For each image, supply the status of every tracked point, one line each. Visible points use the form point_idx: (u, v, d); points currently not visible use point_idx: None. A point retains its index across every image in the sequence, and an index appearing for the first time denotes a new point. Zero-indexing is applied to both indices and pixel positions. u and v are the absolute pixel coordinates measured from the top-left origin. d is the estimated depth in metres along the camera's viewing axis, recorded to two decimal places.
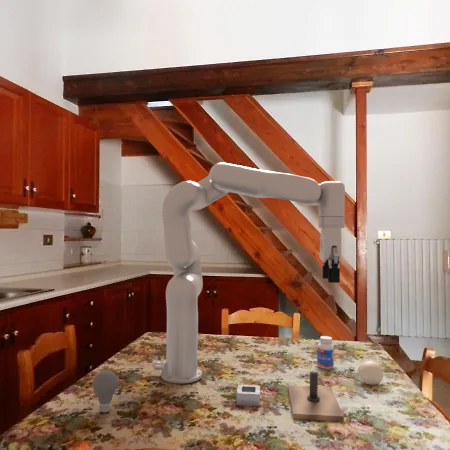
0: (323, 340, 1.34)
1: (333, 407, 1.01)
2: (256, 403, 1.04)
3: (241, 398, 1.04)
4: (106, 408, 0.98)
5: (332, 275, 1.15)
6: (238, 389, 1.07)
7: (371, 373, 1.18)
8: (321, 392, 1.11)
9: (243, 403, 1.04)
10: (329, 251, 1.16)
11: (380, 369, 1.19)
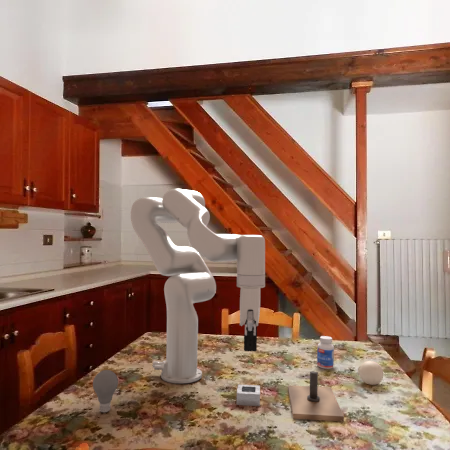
0: (323, 340, 1.34)
1: (333, 407, 1.01)
2: (256, 403, 1.04)
3: (241, 398, 1.04)
4: (106, 408, 0.98)
5: (248, 343, 1.02)
6: (238, 389, 1.07)
7: (371, 373, 1.18)
8: (321, 392, 1.11)
9: (243, 403, 1.04)
10: (245, 315, 1.02)
11: (380, 369, 1.19)
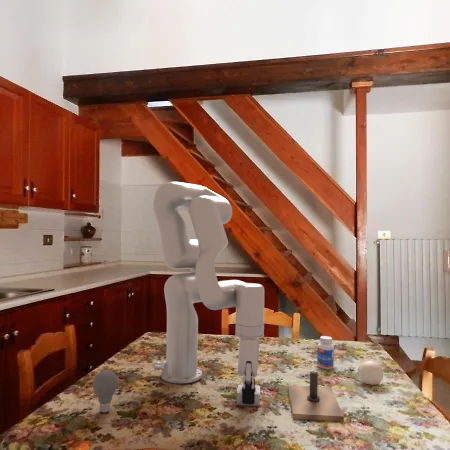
0: (323, 340, 1.34)
1: (333, 407, 1.01)
2: (256, 403, 1.04)
3: (241, 398, 1.04)
4: (106, 408, 0.98)
5: (246, 396, 1.03)
6: (238, 389, 1.07)
7: (371, 373, 1.18)
8: (321, 392, 1.11)
9: None
10: (243, 367, 1.02)
11: (380, 369, 1.19)
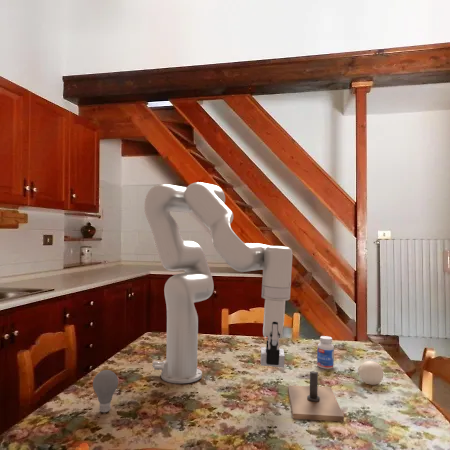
0: (323, 340, 1.34)
1: (333, 407, 1.01)
2: (280, 364, 1.04)
3: (265, 359, 1.05)
4: (106, 408, 0.98)
5: (270, 357, 1.03)
6: (262, 351, 1.07)
7: (371, 373, 1.18)
8: (321, 392, 1.11)
9: (267, 364, 1.04)
10: (269, 328, 1.02)
11: (380, 369, 1.19)
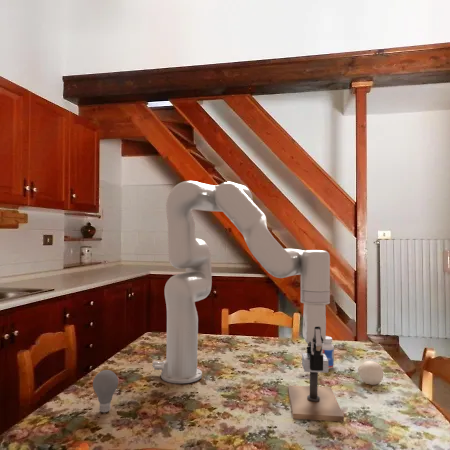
0: None
1: (333, 407, 1.01)
2: (324, 370, 1.03)
3: (309, 365, 1.03)
4: (106, 408, 0.98)
5: (314, 363, 1.02)
6: (304, 356, 1.06)
7: (371, 373, 1.18)
8: (321, 392, 1.11)
9: None
10: (312, 333, 1.01)
11: (380, 369, 1.19)
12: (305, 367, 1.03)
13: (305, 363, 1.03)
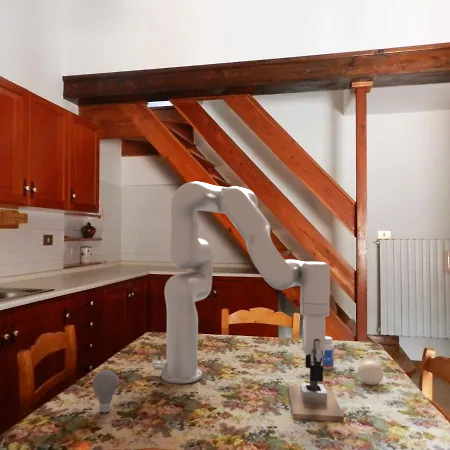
0: None
1: (333, 407, 1.01)
2: (323, 402, 1.03)
3: (307, 397, 1.03)
4: (106, 408, 0.98)
5: (314, 373, 1.00)
6: (303, 388, 1.05)
7: (371, 373, 1.18)
8: None
9: (310, 402, 1.03)
10: (311, 345, 1.01)
11: (380, 369, 1.19)
12: (303, 399, 1.03)
13: (304, 395, 1.03)
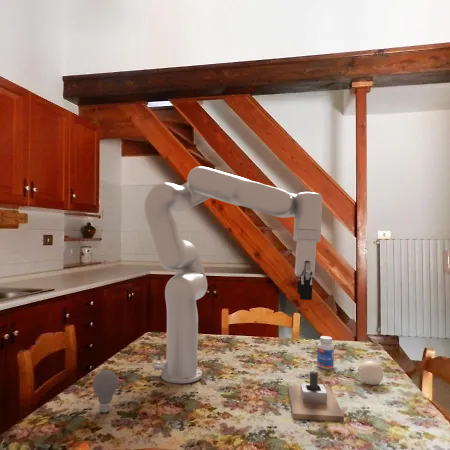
0: (323, 340, 1.34)
1: (333, 407, 1.01)
2: (323, 402, 1.03)
3: (307, 397, 1.03)
4: (106, 408, 0.98)
5: (304, 292, 1.08)
6: (303, 388, 1.05)
7: (371, 373, 1.18)
8: None
9: (310, 402, 1.03)
10: (302, 266, 1.09)
11: (380, 369, 1.19)
12: (303, 399, 1.03)
13: (304, 395, 1.03)
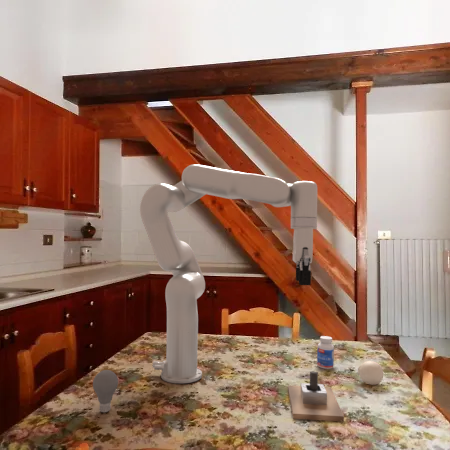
0: (323, 340, 1.34)
1: (333, 407, 1.01)
2: (323, 402, 1.03)
3: (307, 397, 1.03)
4: (106, 408, 0.98)
5: (303, 277, 1.12)
6: (303, 388, 1.05)
7: (371, 373, 1.18)
8: None
9: (310, 402, 1.03)
10: (300, 253, 1.13)
11: (380, 369, 1.19)
12: (303, 399, 1.03)
13: (304, 395, 1.03)
